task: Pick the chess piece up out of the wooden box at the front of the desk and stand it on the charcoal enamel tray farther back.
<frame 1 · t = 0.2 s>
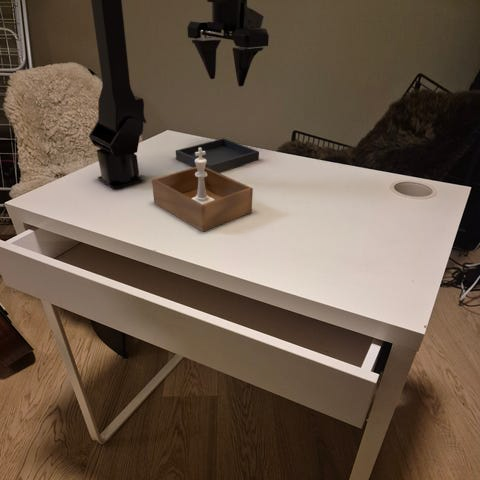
hand: (226, 82, 88), 15 cm above the table, tool pointing down, fingers open, 9 cm apart
wooden box: (202, 207, 75), on the table
tray: (217, 159, 94), on the table
chess piece: (202, 206, 75), resting on wooden box
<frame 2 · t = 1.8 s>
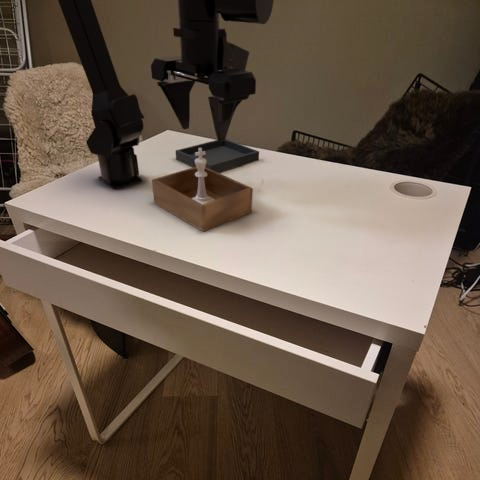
hand: (202, 135, 69), 12 cm above the table, tool pointing down, fingers open, 9 cm apart
nothing on the table moved.
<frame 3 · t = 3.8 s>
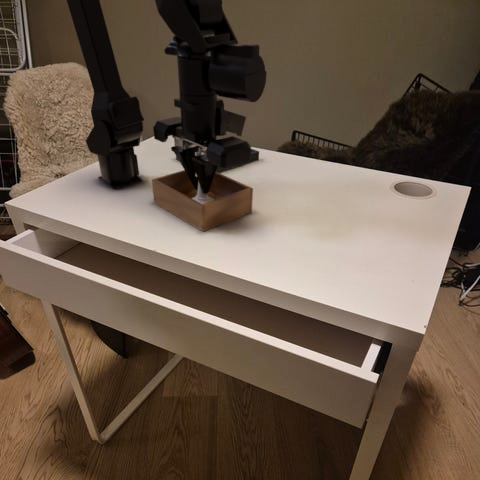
hand: (201, 191, 73), 3 cm above the table, tool pointing down, fingers closed on chess piece
chess piece: (202, 206, 75), resting on wooden box, touching gripper
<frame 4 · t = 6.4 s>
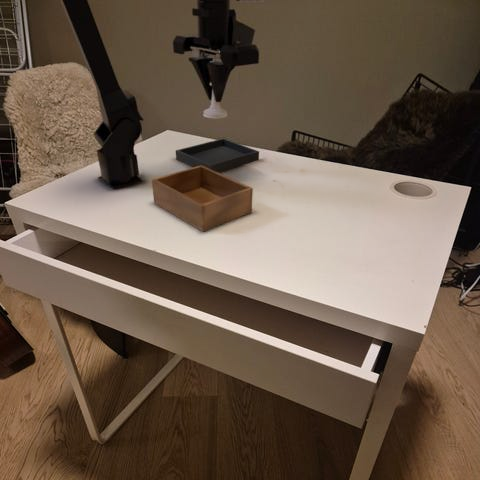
hand: (215, 100, 82), 13 cm above the table, tool pointing down, fingers closed on chess piece
chess piece: (215, 116, 84), point 10 cm above the table, touching gripper
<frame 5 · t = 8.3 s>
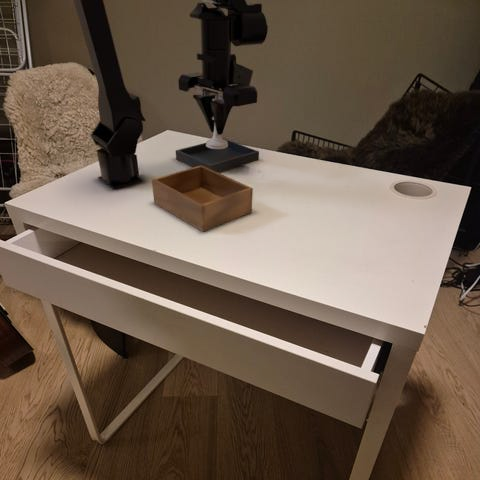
hand: (216, 133, 90), 6 cm above the table, tool pointing down, fingers closed on chess piece
chess piece: (217, 146, 92), point 3 cm above the table, touching gripper
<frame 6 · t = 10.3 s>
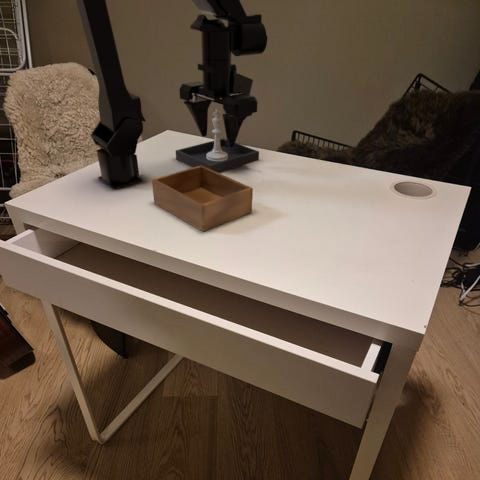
hand: (217, 141, 91), 4 cm above the table, tool pointing down, fingers open, 9 cm apart
chess piece: (217, 158, 94), resting on tray
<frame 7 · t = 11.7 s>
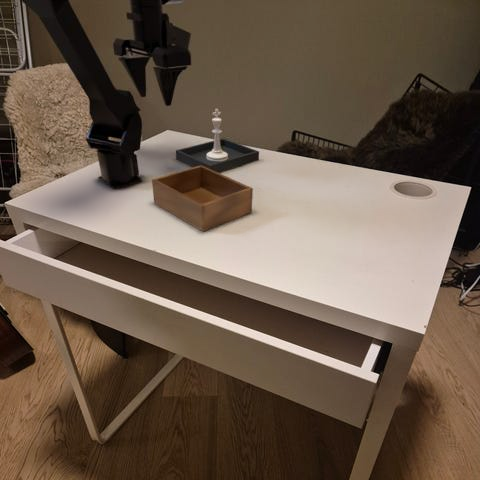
hand: (155, 101, 85), 12 cm above the table, tool pointing down, fingers open, 9 cm apart
nothing on the table moved.
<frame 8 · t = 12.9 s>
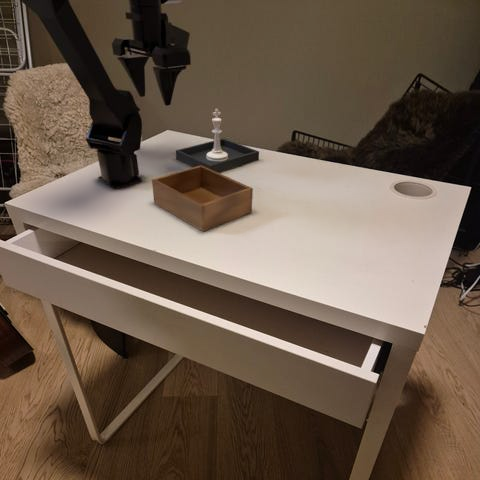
hand: (154, 100, 85), 12 cm above the table, tool pointing down, fingers open, 9 cm apart
nothing on the table moved.
at the end: chess piece inside the target area in the tray (0.1 cm from its centre), point 0.3 cm above the tray's base; chess piece tilted 0°; the gripper is holding nothing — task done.
